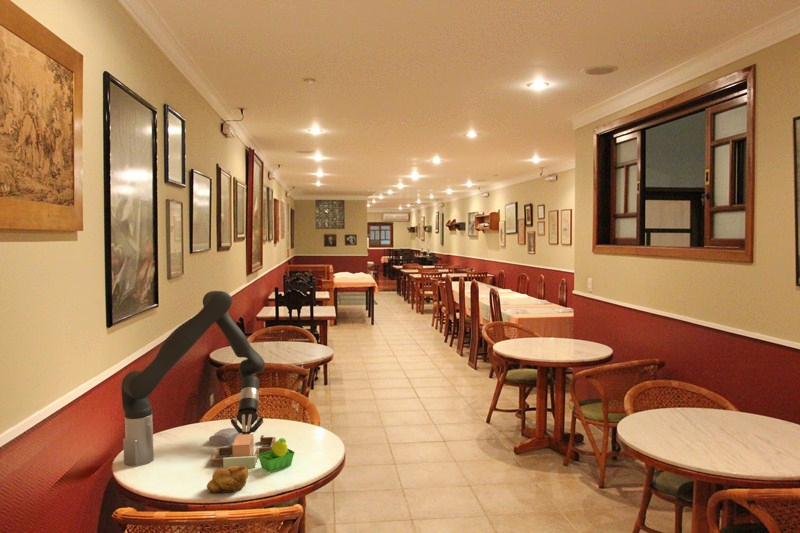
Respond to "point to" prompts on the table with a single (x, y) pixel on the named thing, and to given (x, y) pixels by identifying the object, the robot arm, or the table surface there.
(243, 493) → the table surface
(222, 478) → the bread roll
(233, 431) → the stone block
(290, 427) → the table surface
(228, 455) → the box
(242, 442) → the terracotta brick
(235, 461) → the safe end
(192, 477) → the table surface
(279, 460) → the fruit basket
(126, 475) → the table surface
